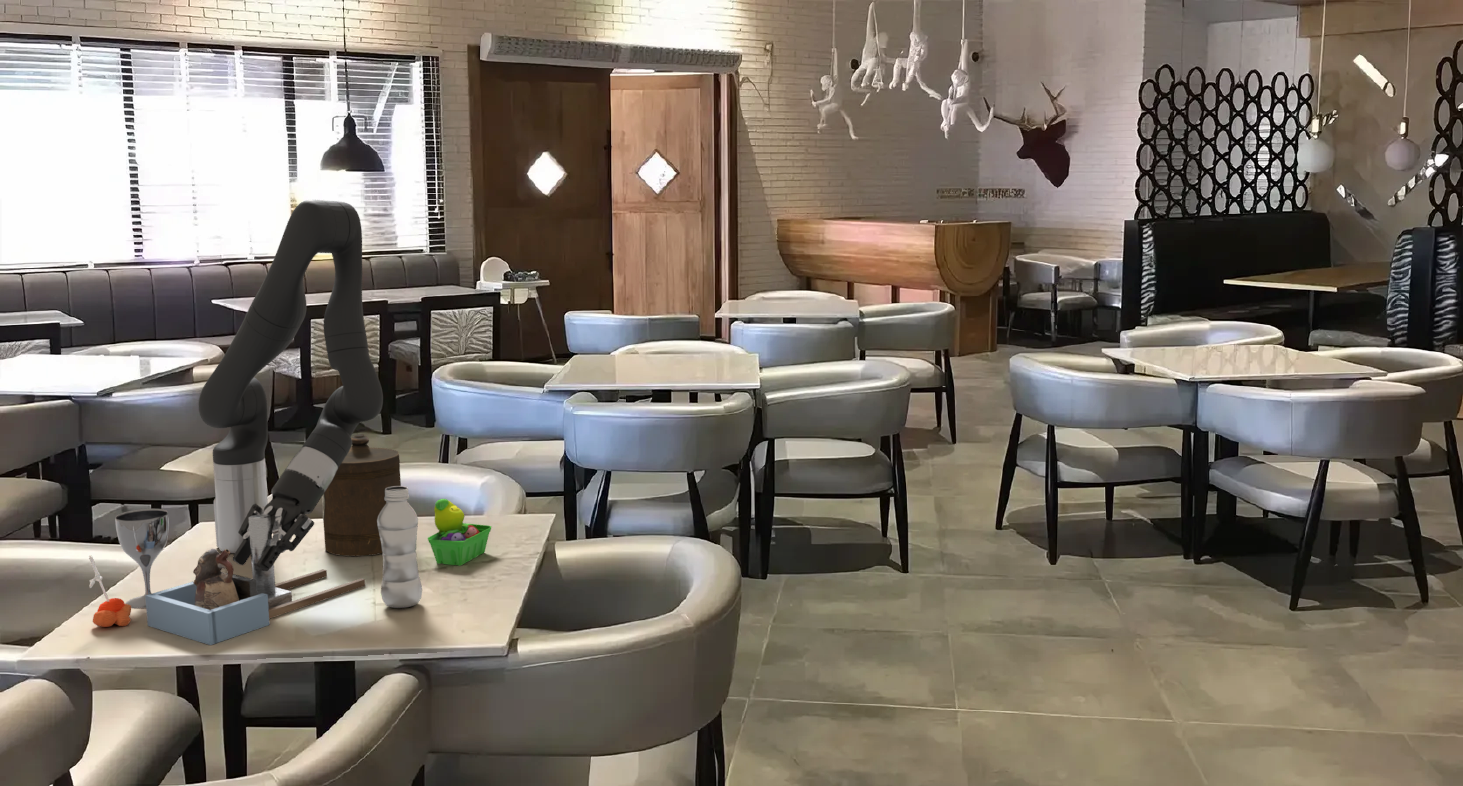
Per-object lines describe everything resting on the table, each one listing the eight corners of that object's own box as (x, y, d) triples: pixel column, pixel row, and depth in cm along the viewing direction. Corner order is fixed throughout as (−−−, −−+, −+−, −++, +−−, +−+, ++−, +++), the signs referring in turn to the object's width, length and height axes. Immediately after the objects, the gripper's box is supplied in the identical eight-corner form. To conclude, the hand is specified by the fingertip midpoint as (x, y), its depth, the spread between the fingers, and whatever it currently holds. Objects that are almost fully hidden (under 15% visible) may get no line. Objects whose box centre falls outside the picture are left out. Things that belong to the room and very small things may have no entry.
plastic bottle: (412, 613, 202) (406, 494, 198) (374, 611, 203) (368, 492, 200) (429, 601, 208) (424, 485, 205) (392, 598, 209) (386, 483, 206)
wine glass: (140, 612, 203) (133, 523, 200) (112, 603, 207) (105, 516, 204) (184, 598, 209) (178, 512, 207) (156, 590, 213) (149, 506, 211)
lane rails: (214, 610, 203) (213, 603, 203) (323, 575, 222) (322, 569, 221) (257, 622, 198) (256, 615, 197) (365, 586, 216) (364, 579, 216)
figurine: (208, 613, 202) (203, 542, 200) (249, 615, 201) (245, 543, 199) (184, 628, 195) (178, 555, 193) (226, 630, 194) (221, 556, 192)
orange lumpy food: (71, 635, 192) (65, 561, 190) (112, 615, 201) (106, 543, 200) (106, 637, 191) (100, 563, 189) (145, 617, 200) (140, 545, 198)
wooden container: (361, 532, 250) (355, 425, 246) (420, 540, 244) (415, 431, 240) (308, 551, 237) (301, 438, 233) (368, 561, 231) (363, 445, 227)
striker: (224, 610, 203) (218, 521, 200) (267, 596, 209) (261, 510, 207) (251, 617, 199) (245, 527, 197) (294, 603, 206) (288, 515, 203)
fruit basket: (463, 568, 226) (460, 508, 224) (420, 564, 229) (418, 504, 227) (494, 551, 236) (492, 494, 235) (453, 547, 239) (451, 490, 237)
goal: (147, 625, 196) (145, 595, 195) (207, 607, 205) (205, 578, 204) (210, 645, 188) (207, 613, 187) (269, 624, 197) (267, 594, 196)
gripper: (263, 462, 211) (206, 547, 203) (320, 472, 203) (262, 561, 195) (291, 487, 216) (236, 570, 208) (347, 497, 209) (292, 584, 201)
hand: (249, 565), depth 202 cm, fingers open, 5 cm apart
